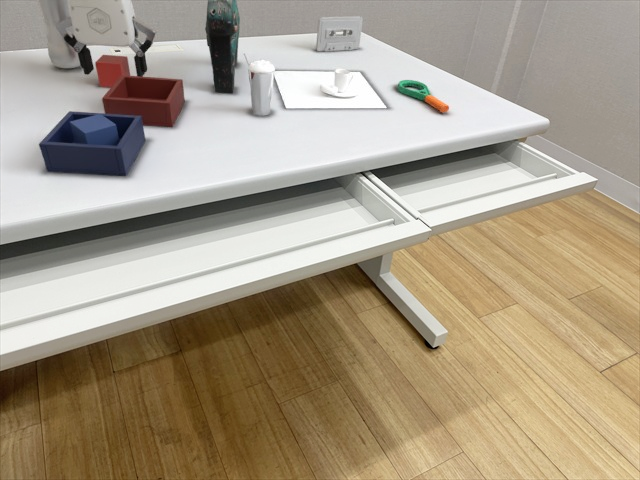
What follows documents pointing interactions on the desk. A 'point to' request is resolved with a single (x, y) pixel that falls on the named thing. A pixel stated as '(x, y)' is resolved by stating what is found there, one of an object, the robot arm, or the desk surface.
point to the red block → (111, 69)
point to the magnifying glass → (422, 94)
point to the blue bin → (93, 147)
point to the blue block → (95, 131)
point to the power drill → (223, 42)
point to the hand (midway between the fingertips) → (115, 73)
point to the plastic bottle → (58, 33)
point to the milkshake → (261, 86)
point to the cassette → (338, 41)
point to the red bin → (146, 99)
